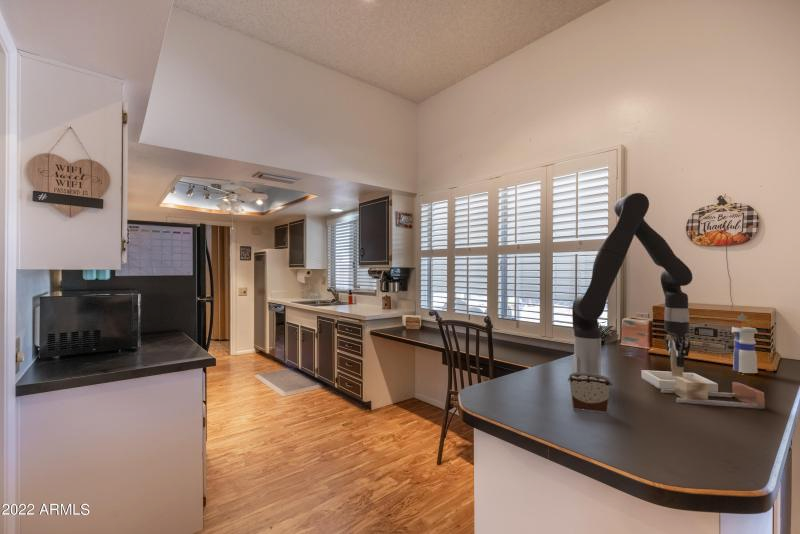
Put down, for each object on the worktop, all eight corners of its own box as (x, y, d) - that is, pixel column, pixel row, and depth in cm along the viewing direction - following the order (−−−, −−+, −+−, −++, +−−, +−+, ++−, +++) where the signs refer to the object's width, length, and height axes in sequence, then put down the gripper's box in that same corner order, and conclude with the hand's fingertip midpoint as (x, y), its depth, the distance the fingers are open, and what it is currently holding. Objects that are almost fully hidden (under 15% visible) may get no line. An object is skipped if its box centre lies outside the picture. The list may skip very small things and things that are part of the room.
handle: (670, 373, 140) (669, 334, 140) (690, 377, 134) (689, 337, 134) (664, 375, 137) (664, 335, 137) (684, 379, 132) (684, 338, 132)
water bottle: (725, 369, 158) (725, 313, 159) (747, 370, 157) (746, 313, 158) (740, 374, 150) (740, 315, 151) (763, 375, 149) (762, 315, 150)
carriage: (686, 400, 118) (686, 382, 118) (675, 393, 125) (675, 376, 125) (708, 402, 117) (707, 383, 117) (695, 395, 123) (695, 377, 123)
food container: (608, 406, 113) (608, 374, 113) (613, 413, 107) (612, 379, 107) (565, 401, 117) (565, 370, 117) (567, 408, 111) (567, 375, 111)
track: (677, 402, 117) (677, 387, 117) (661, 391, 127) (661, 377, 127) (764, 408, 112) (764, 392, 112) (739, 397, 122) (739, 382, 122)
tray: (659, 389, 130) (659, 380, 130) (641, 378, 144) (641, 370, 145) (718, 393, 126) (717, 383, 127) (694, 381, 140) (694, 373, 141)
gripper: (656, 317, 144) (656, 360, 143) (675, 321, 130) (675, 369, 129) (677, 317, 142) (678, 361, 142) (699, 322, 128) (699, 370, 128)
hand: (677, 365), depth 136 cm, fingers closed on handle, 4 cm apart
